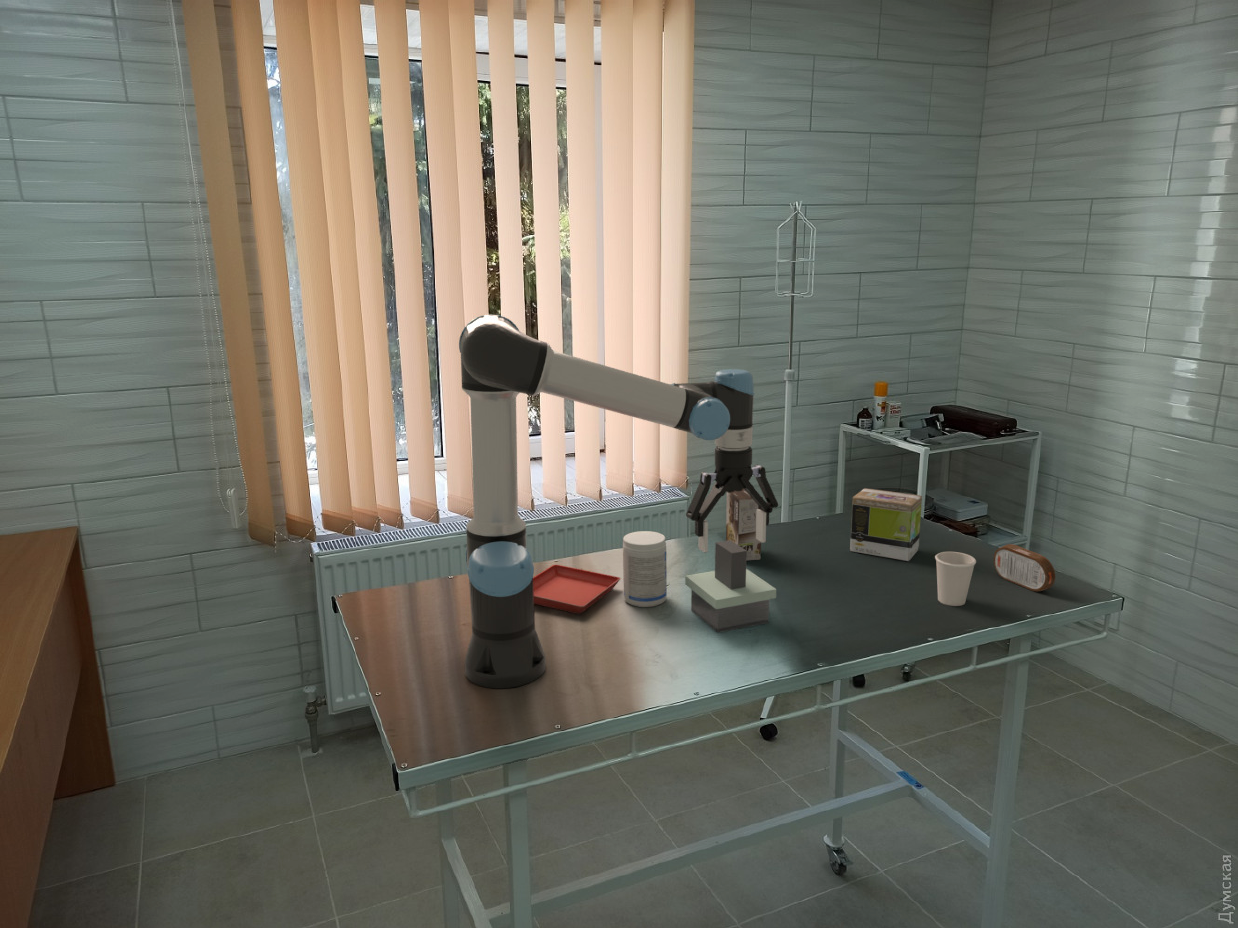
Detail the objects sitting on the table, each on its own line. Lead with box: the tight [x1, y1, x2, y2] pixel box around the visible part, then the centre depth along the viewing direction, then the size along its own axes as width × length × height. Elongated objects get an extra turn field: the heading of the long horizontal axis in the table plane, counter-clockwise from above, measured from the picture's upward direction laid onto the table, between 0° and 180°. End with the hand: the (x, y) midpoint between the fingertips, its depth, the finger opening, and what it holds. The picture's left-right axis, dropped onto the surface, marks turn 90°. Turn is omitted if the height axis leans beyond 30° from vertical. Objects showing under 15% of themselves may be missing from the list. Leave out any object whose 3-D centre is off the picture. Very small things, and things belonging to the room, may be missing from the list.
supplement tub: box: [622, 530, 668, 608], centre depth 197 cm, size 10×10×15 cm
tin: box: [993, 543, 1056, 592], centre depth 204 cm, size 15×3×8 cm, turn 27°
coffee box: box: [725, 489, 764, 562], centre depth 223 cm, size 9×6×16 cm
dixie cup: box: [934, 551, 977, 607], centre depth 195 cm, size 8×8×10 cm
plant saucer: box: [533, 564, 621, 614], centre depth 201 cm, size 18×18×3 cm
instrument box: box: [690, 589, 770, 634], centre depth 189 cm, size 12×12×7 cm
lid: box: [684, 540, 777, 609], centre depth 187 cm, size 14×14×10 cm
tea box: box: [849, 487, 923, 562], centre depth 225 cm, size 15×10×15 cm, turn 58°
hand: (732, 545), depth 186 cm, fingers open, 13 cm apart
